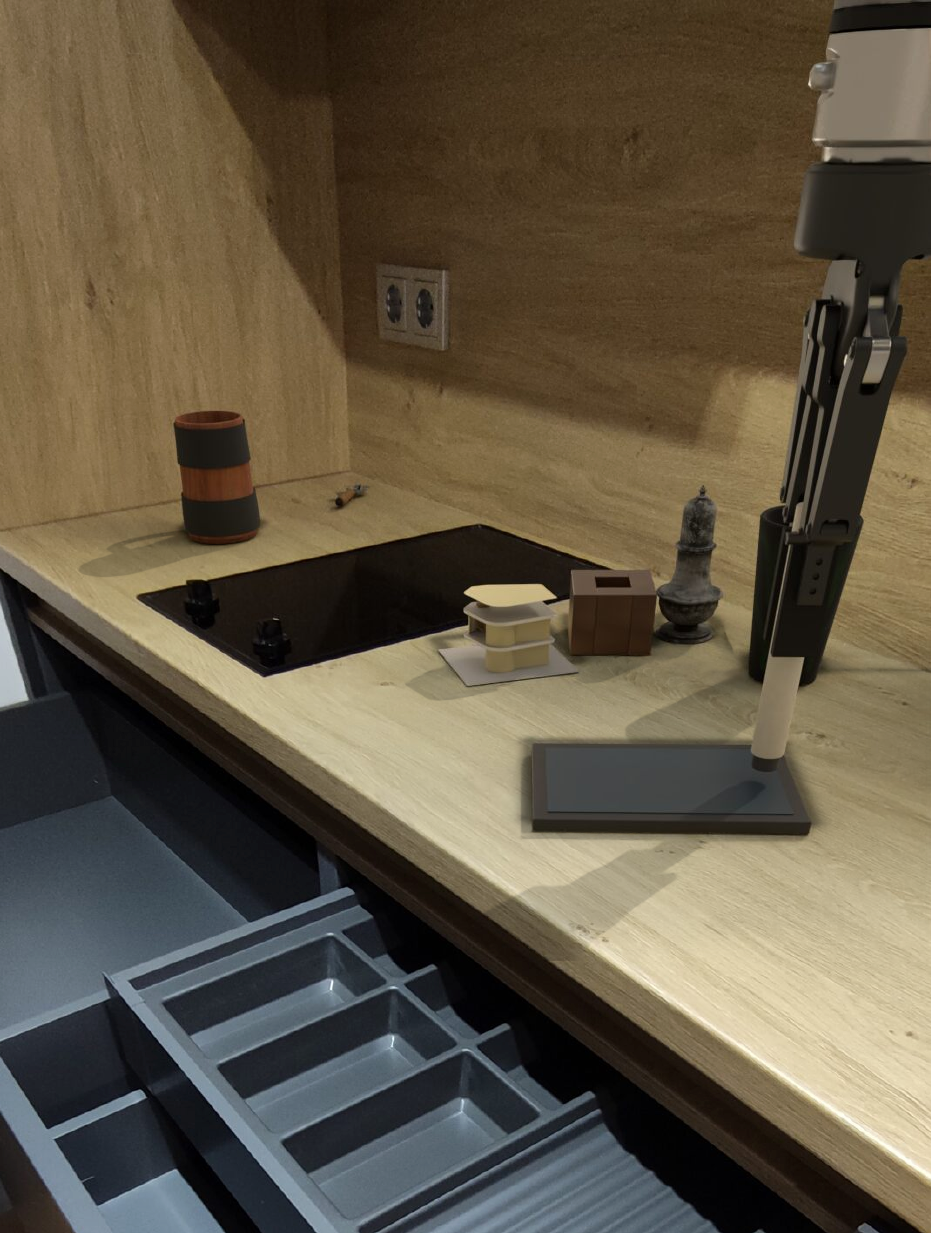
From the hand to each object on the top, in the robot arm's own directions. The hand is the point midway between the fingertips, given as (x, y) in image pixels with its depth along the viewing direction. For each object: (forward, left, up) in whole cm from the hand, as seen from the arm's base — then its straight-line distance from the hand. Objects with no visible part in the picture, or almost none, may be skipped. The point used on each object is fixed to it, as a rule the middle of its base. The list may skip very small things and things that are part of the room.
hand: (789, 646), depth 70 cm
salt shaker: (+2, -32, -10) cm, 34 cm away
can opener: (+38, -80, -10) cm, 89 cm away
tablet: (+7, 0, -10) cm, 12 cm away
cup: (-5, -22, -10) cm, 25 cm away
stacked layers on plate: (+18, -25, -10) cm, 32 cm away
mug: (+52, -66, -10) cm, 85 cm away
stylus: (0, 0, -8) cm, 8 cm away
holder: (+9, -30, -10) cm, 33 cm away
